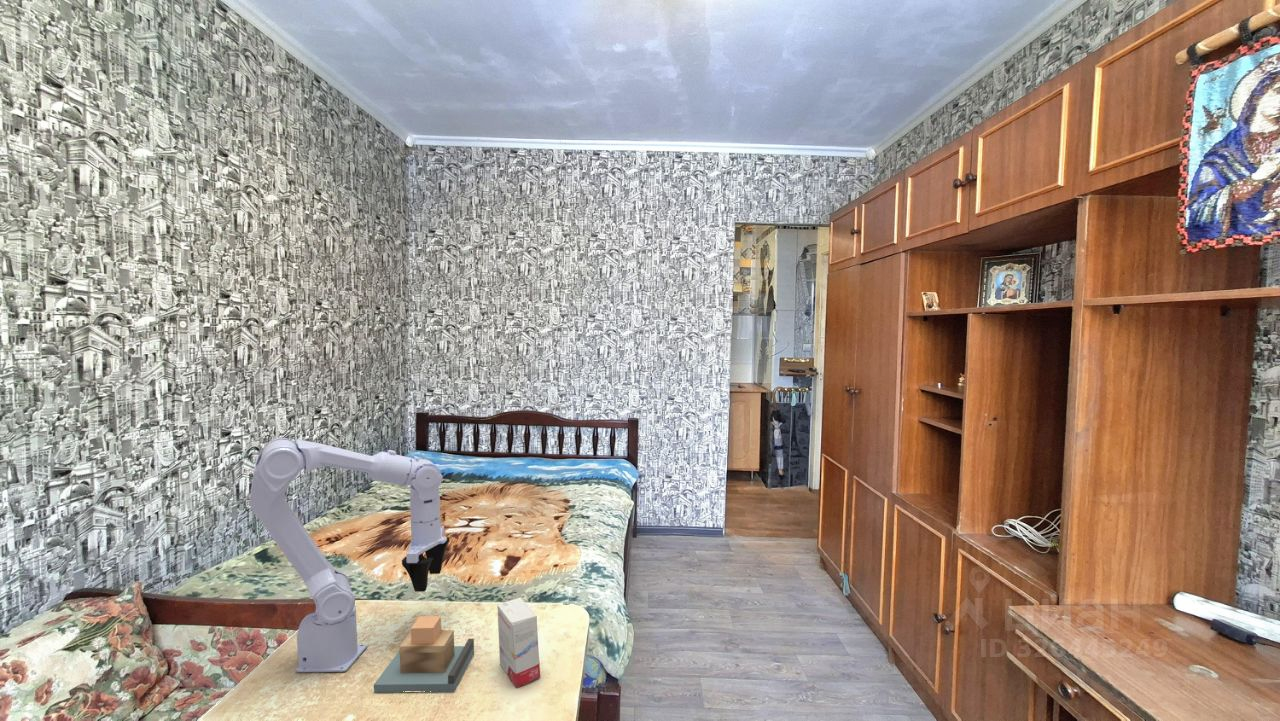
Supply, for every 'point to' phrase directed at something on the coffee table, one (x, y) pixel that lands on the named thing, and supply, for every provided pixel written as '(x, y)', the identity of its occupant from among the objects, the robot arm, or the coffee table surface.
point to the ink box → (518, 641)
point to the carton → (426, 630)
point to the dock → (426, 675)
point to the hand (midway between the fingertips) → (428, 581)
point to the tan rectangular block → (427, 654)
